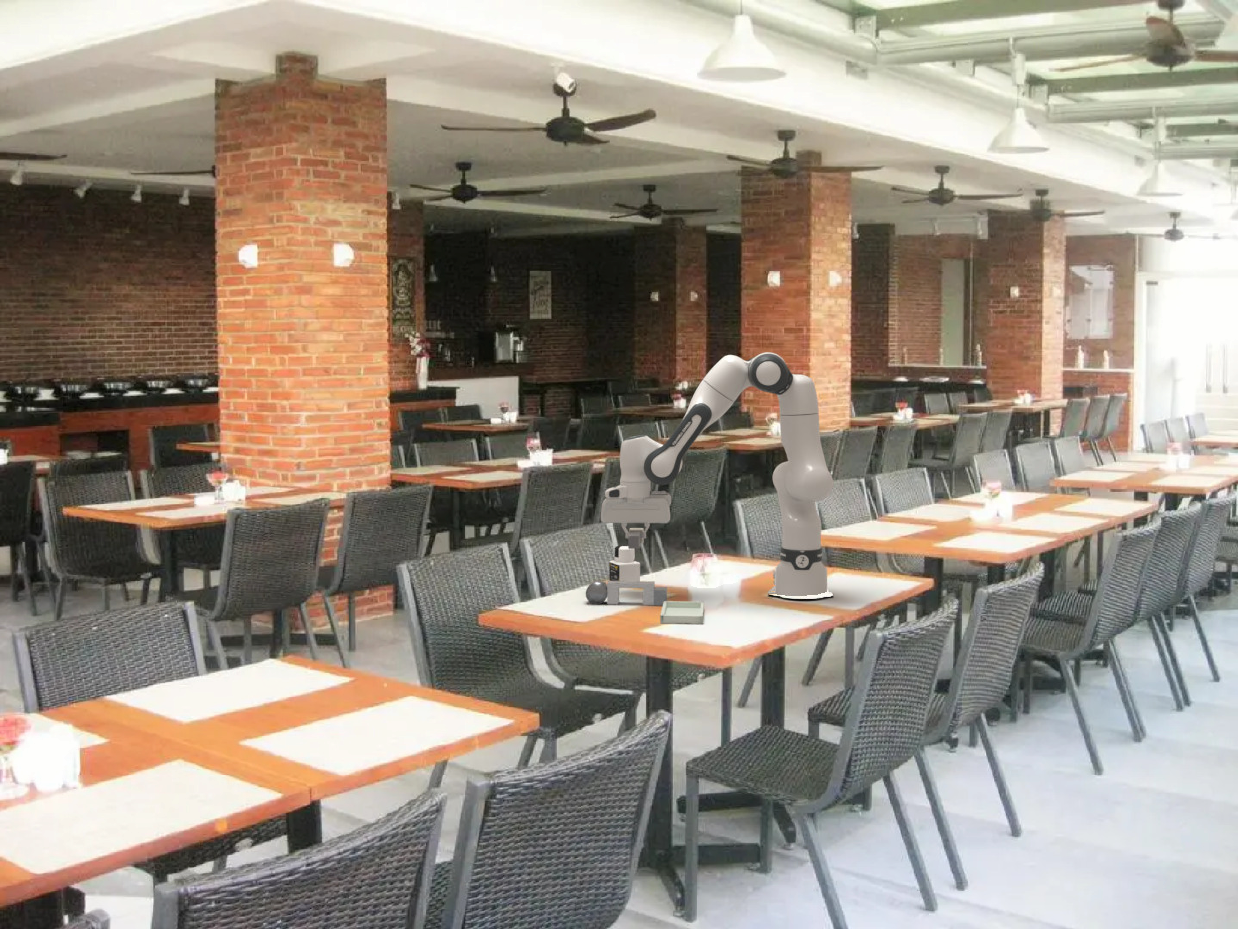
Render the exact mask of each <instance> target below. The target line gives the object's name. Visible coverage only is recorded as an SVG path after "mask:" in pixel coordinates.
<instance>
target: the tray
mask: <svg viewBox="0 0 1238 929" xmlns="http://www.w3.org/2000/svg"><path fill="white" fill-rule="evenodd" d="M704 612H705V602H704V601H685V600H684V601H681V600H680V601H676V600H674V601H673V600H667V601H664V603H663V606H661V611H660V614H659V615H660V616H659V617H660V618H659V619H660V620H659V622H660V624H674V623H683V624H684V623H691V624H690V625H703V623H704V614H703V613H704ZM684 625H685V624H684Z"/></svg>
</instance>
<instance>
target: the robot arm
mask: <svg viewBox="0 0 1238 929" xmlns="http://www.w3.org/2000/svg"><path fill="white" fill-rule="evenodd" d="M815 385H816V384H815V383H814V381H813V379H812V378H811V377H809V376H807V375H804V374H794V373H792V372H791V370H790V369H789V367H788V366H787V364H786V361H785V360H784V359H783V357H782V356H780V355H779V354H777V353H775V352H769V351H768V352H766V351H765V352H762V353H760V354H758V355H755V356H754V357H751V358H749V359H748V360H747V359H746V360H744V359H743V358H741V357H739V356H737V355H733V354H728V355H724V356H723V357H722V358H721V359H720V360H719V361H718V362H716V364H714V365H713V367H712V368H711V369H709V371H708V373H706V375H705V376H704V377H703V379H702V380H701V382H700V383H699V385H698V386H697V388H696V390H695V392H694V393H693V396H692V398H691V399H690V402H689V405H688V408H687V410H686V412H685V415H684V416H683V418H682V420H681V422H680V423H679V425H678V426H677V427H676V428H675V430H674V431H673V432H672V434H671V435H670V436H669V438H668V440H667V441H665V443H664V444H662V443H661V442H657V441H655V440H653V439H652V438H650V437H649V436H648V435H646V434H639V435H634V436H630V437H627V438H625V439H624V440H623V441H622V442H621V445H620V451H619V452H620V453H619V467H620V472H621V473H620V474H621V475H620V479H619V484H618V485H616V486H612V487H610V488H607V489H606V490H605V491H604V496H605V499H604V500H603V501H602V504H601V509H600V521H601V522H602V523H603V524H621V528H622V530H623V532H624V533H625V536H624V537H625V539H628V536H629V534H630V532H629V530H628V529H627V525H628V524H644V527H645V528H644V532H641V538H644V539H647V532H648V529H649V528H650V526H651V525H650V524H668V523H669V522H670V521H671V510H670V509H671V508H670V506H671V504H672V496H671V494H670V493H669V492H667V491H666V490H661V491H657V490H651V482H652V483H653V484H655V485H658V486H665V485H669V484H671V483H672V482H674V480H676V479H677V478H678V476H679V473H680V472H681V470H682V469H683V466H684V465H683V464H684V463H683V462H684V461H683V460H684V459H683V458H684V457H685V455H686V453H687V452H688V451H689V450H690V448H691V447H692V445H693V444H694V442H695V441H696V440H697V439H698V438H699V436H700V435H701V434H702V432H704V431H706V429H707V428H708V427H709V426H711V425H712V424H714V423H716V422H717V421H718V420H719V419H720V418H722V417H723V416H724V415H725V414H726V413H727V411H728V410H729V409H730V408H731V407H732V406H733V404H734V403H735V402H736V400H738V397H739V396H740V395H741V394H742V392H743V391H744V390H746V389H747V388H749V387H754V388H756V389H757V390H759V391H761V392H766V393H769V394H773V395H775V396H777V399H778V406H779V424H780V426H779V427H780V430H779V431H780V441H781V442H780V443H781V445H782V447H783V449H784V452H785V453H786V454H785V455H786V458H787V461H784V462H781V463H780V464H778V465H777V466H776V467H775V469H774V471H773V473H772V482H773V486H774V489H775V490H776V494H777V499H778V503H779V508H780V509H779V510H780V515H781V547H780V551H779V555H780V556H779V558H780V559H779V560H780V562H779V563H778V564H777V566H776V567H775V569H774V570H773V573H772V574H773V575H772V578H773V579H774V580H773V587H772V588H770V589H769V590H768V591H767V594H768V593H769V594H777V595H785V596H807V595H818V594H821V593H825V592H827V589H828V568H826V566H825V565H824V564H823V562H822V560H823V548H822V547H821V546H822V544H821V543H822V542H821V540H822V538H821V536H822V521H821V518H820V516H819V513H818V510H817V507H816V503H817V502H821V501H824V500H825V499H827V498H828V497H829V496H830V495H831V493H832V492H833V489H834V478H833V477H832V475H831V472H830V471H829V469H828V466H827V463H826V459H825V458H826V457H825V454H824V451H823V447H822V441H821V436H820V435H821V429H820V414H819V413H820V412H819V402H818V396H817V391H816V386H815ZM774 585H775V586H774ZM771 591H775V592H771Z"/></svg>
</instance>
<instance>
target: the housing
mask: <svg viewBox="0 0 1238 929" xmlns="http://www.w3.org/2000/svg"><path fill="white" fill-rule="evenodd" d="M655 583H656V582H655V581H647V580H646V581H645V580H644V581H643V580H642V581H641V580H640V581H609V580H608V581H607V583H606V582H604V581H603V580H600V579H597V580H593V581H592V582H590V583H589V585H588V586H587V588H586V590H585V597H586V599H587V601H588V602H589V603H590V604H592V605H595V606H597V605H598V606H599V605H601V604H602V603H605V601H606V604H607V605H610V604H616V605H619V604H620V589H623V588H624V589H642V606H656V607H663V603H664V601H668V586H656V584H655ZM616 605H615V606H616Z"/></svg>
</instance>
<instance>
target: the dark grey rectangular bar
mask: <svg viewBox="0 0 1238 929" xmlns="http://www.w3.org/2000/svg"><path fill="white" fill-rule="evenodd" d="M644 530H645V528H644V527H630V528H629V529H628V532H630V534H629V536H628V538H627V540H628V541H627V543H628V544H627V545H628V549H637V550H639V549H640V546H641V544H644V542H645V541H644V539H645V538H641V532H644Z"/></svg>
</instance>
